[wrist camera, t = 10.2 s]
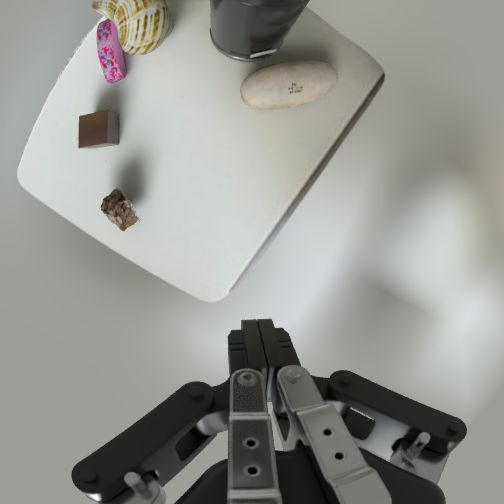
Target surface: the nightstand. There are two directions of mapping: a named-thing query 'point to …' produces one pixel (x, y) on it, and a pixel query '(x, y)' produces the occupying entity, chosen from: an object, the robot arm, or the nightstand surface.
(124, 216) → the rock
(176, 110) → the nightstand surface
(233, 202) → the nightstand surface
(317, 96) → the stone
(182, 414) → the robot arm
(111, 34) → the headband
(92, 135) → the brown cube block
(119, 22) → the seashell
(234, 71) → the nightstand surface
